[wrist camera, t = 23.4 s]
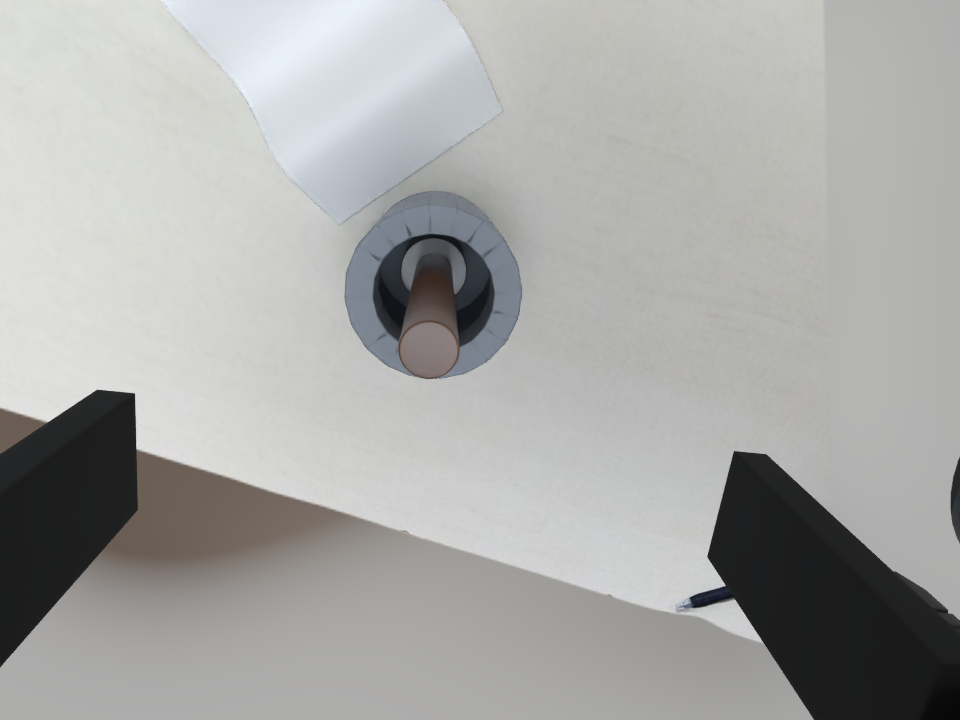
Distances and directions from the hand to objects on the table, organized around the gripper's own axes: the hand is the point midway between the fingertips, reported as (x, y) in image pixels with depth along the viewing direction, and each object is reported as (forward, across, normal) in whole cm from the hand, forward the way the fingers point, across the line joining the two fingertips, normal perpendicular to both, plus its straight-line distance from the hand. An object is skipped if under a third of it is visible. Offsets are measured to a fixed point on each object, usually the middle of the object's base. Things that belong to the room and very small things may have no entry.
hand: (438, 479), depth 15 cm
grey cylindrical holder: (+33, 0, 0) cm, 33 cm away
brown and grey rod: (+32, -1, 0) cm, 32 cm away
